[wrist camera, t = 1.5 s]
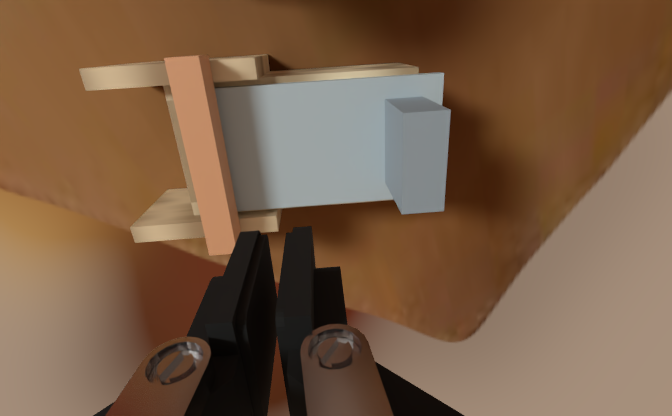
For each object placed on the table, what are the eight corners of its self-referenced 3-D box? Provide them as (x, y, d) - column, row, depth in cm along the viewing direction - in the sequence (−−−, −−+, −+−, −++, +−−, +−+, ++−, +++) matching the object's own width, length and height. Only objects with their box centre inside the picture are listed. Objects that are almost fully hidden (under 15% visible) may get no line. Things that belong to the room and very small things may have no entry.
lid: (439, 72, 23) (478, 80, 18) (433, 191, 27) (464, 229, 21) (186, 89, 23) (147, 103, 17) (212, 208, 26) (186, 252, 21)
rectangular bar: (208, 54, 21) (198, 55, 19) (242, 238, 26) (237, 253, 24) (176, 56, 21) (163, 57, 19) (216, 240, 26) (209, 255, 24)
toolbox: (398, 45, 28) (424, 46, 22) (397, 185, 33) (418, 220, 26) (134, 63, 28) (78, 68, 21) (171, 202, 32) (135, 242, 26)
